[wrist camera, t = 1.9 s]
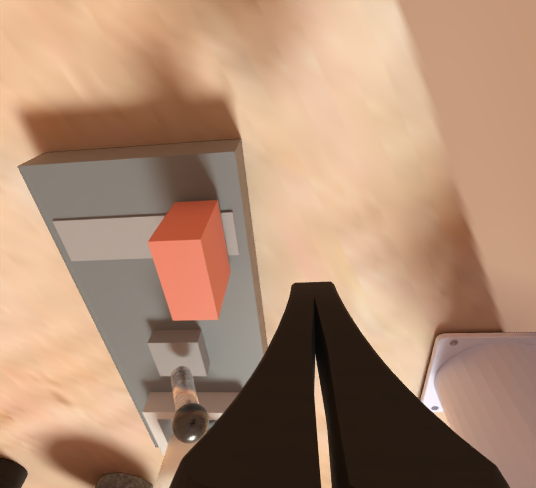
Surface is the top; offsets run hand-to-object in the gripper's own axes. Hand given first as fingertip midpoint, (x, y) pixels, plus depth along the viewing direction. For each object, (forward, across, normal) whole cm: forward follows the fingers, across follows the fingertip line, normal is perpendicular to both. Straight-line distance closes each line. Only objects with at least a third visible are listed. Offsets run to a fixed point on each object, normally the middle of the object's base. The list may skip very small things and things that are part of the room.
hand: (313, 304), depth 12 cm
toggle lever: (+4, +8, +8) cm, 12 cm away
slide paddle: (+5, +5, 0) cm, 7 cm away
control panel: (+7, +8, +8) cm, 13 cm away
